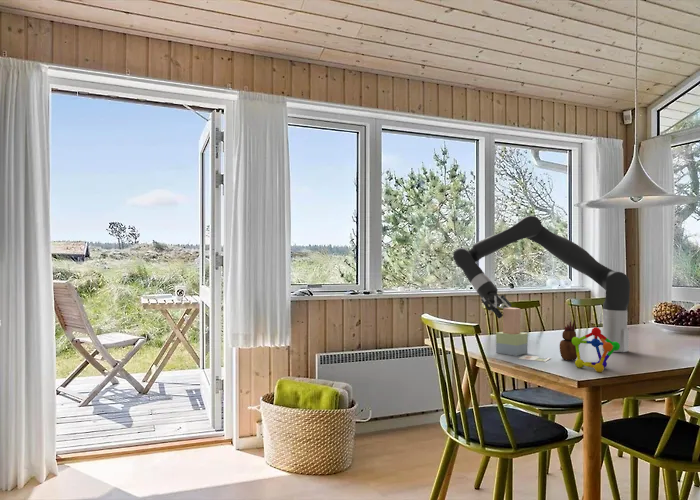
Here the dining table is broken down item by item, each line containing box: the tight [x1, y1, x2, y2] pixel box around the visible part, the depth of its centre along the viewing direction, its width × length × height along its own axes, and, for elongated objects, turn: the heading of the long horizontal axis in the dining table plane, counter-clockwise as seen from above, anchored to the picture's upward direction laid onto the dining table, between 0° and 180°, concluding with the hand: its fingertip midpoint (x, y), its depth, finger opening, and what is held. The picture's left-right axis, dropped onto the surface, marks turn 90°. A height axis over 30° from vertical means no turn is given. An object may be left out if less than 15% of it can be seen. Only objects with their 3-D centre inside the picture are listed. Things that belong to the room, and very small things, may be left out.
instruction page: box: [518, 354, 552, 363], centre depth 213 cm, size 10×8×1 cm
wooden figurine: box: [559, 320, 580, 362], centre depth 212 cm, size 7×6×15 cm
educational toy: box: [572, 326, 620, 373], centre depth 196 cm, size 16×13×15 cm
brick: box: [502, 306, 522, 334], centre depth 225 cm, size 5×5×10 cm
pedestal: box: [495, 331, 529, 357], centre depth 224 cm, size 9×9×8 cm
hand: (507, 316), depth 226 cm, fingers open, 8 cm apart
